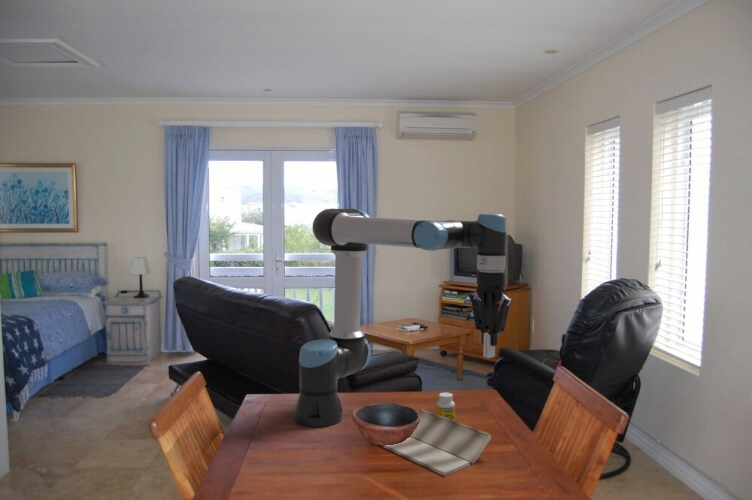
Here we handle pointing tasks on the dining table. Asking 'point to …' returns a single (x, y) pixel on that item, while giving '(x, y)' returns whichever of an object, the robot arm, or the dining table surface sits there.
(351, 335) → the robot arm
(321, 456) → the dining table surface
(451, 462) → the laid board
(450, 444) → the plank
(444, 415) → the supplement bottle
